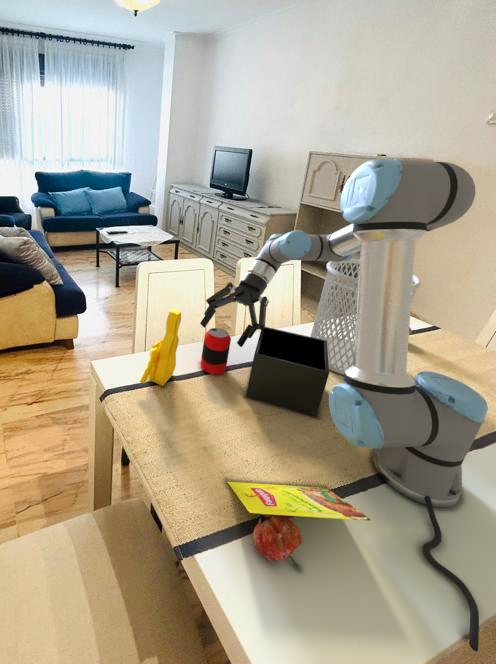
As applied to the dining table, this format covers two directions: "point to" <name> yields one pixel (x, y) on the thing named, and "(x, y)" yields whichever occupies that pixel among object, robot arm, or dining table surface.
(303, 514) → the food package
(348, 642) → the dining table surface
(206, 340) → the soda can
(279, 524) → the pomegranate
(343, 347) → the wastebasket
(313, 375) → the bin
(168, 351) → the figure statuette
